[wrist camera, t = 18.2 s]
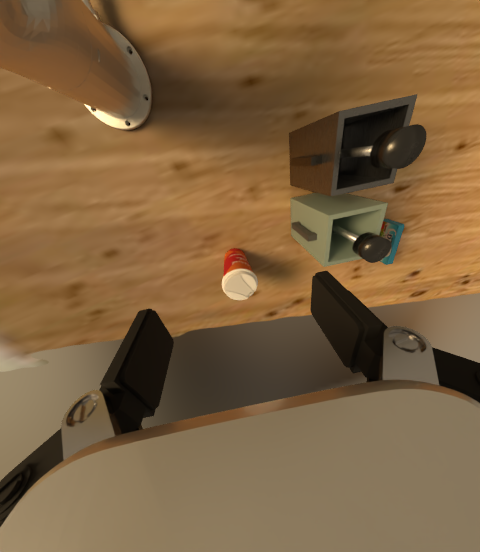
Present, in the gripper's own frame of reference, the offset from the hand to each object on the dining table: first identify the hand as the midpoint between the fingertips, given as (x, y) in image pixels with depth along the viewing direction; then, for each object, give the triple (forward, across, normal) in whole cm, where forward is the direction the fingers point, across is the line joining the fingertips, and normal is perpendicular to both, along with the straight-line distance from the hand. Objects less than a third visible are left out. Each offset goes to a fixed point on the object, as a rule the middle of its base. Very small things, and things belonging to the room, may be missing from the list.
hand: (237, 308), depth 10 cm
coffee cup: (+38, 0, +16) cm, 42 cm away
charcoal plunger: (+35, -22, -5) cm, 41 cm away
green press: (+38, -22, +8) cm, 45 cm away
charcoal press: (+38, -22, -5) cm, 44 cm away
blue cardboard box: (+39, -44, +20) cm, 62 cm away
